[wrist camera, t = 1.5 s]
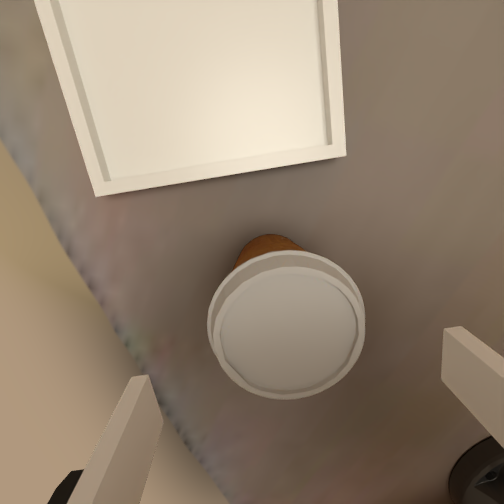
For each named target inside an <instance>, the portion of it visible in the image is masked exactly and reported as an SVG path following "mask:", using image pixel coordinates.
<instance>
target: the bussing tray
mask: <svg viewBox="0 0 504 504" xmlns="http://www.w3.org/2000/svg"><path fill="white" fill-rule="evenodd" d="M34 2H35V5H36V8H37V12H38V15H39V18H40V21H41V24H42V27H43V31H44V34H45V37H46V40H47V43H48V47H49V50H50V53H51V56H52V59H53V62H54V66H55V69H56V72H57V75H58V78H59V82H60V85H61V88H62V91H63V94H64V98H65V101H66V104H67V107H68V110H69V113H70V117H71V120H72V123H73V126H74V129H75V133H76V136H77V139H78V142H79V145H80V148H81V152H82V155H83V158H84V161H85V164H86V168H87V171H88V174H89V177H90V180H91V184H92V187H93V190H94V193H95V196H96V197H98V196H104V195H110V194H116V193H122V192H128V191H134V190H141V189H147V188H153V187H159V186H165V185H171V184H177V183H183V182H189V181H195V180H201V179H208V178H214V177H220V176H226V175H232V174H238V173H244V172H250V171H256V170H262V169H269V168H275V167H281V166H287V165H293V164H299V163H305V162H311V161H317V160H323V159H329V158H336V157H342V156H346V141H345V124H344V106H343V89H342V72H341V54H340V37H339V19H338V2H337V0H34Z"/></svg>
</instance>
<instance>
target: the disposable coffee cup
mask: <svg viewBox="0 0 504 504" xmlns="http://www.w3.org/2000/svg"><path fill="white" fill-rule="evenodd" d="M207 330H208V338H209V341H210V344H211V347H212V350H213V352H214V354H215V355H216V357H217V359H218V361H219V363H220V365H221V367H222V368H223V369H224V371H225V372H226V373H227V375H228V376H229V377H230V378H231V379H232V380H233V381H234V382H236V383H237V384H238V385H239V386H240V387H242V388H244V389H246V390H247V391H249V392H251V393H254V394H256V395H259V396H263V397H267V398H271V399H298V398H304V397H308V396H311V395H314V394H317V393H320V392H322V391H324V390H326V389H327V388H329V387H331V386H333V385H334V384H336V383H337V382H338V381H340V380H341V379H342V378H343V377H344V376H345V375H346V374H347V373H348V372H349V371H350V369H351V368H352V367H353V365H354V364H355V362H356V361H357V359H358V357H359V355H360V353H361V350H362V347H363V344H364V338H365V309H364V303H363V300H362V296H361V294H360V292H359V289H358V287H357V286H356V284H355V283H354V281H353V280H352V279H351V277H350V276H349V275H348V274H347V273H346V272H345V271H344V270H343V269H342V268H341V267H339V266H338V265H336V264H335V263H333V262H332V261H330V260H329V259H327V258H325V257H322V256H319V255H316V254H313V253H310V252H307V251H305V250H304V249H303V248H301V247H299V246H298V245H297V244H295V243H294V242H292V241H291V240H289V239H288V238H286V237H283V236H281V235H275V234H267V235H262V236H259V237H257V238H255V239H253V240H252V241H250V242H249V243H248V244H247V245H246V246H245V247H244V248H243V250H242V252H241V254H240V256H239V258H238V260H237V262H236V264H235V266H234V268H233V270H232V272H231V273H230V274H228V276H227V277H226V278H225V279H224V280H223V282H222V283H221V284H220V285H219V287H218V289H217V290H216V292H215V294H214V296H213V299H212V302H211V304H210V307H209V310H208V319H207Z"/></svg>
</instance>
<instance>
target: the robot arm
mask: <svg viewBox="0 0 504 504" xmlns="http://www.w3.org/2000/svg"><path fill="white" fill-rule="evenodd" d="M441 380H442V381H443V382H444V384H445V385H446V386H447V387H448V388H449V389H450V390H451V391H452V392H453V393H454V394H455V396H456V397H457V398H458V399H459V400H460V401H461V402H462V403H463V404H464V405H465V407H466V408H467V409H468V410H469V411H470V412H471V413H472V414H473V415H474V416H475V418H476V419H477V420H478V421H479V422H480V423H481V424H482V425H483V426H484V427H485V428H486V430H487V431H488V432H489V433H490V434H491V435H492V436H493V437H492V438H490V439H487V440H485V441H483V442H482V443H480V444H478V445H477V446H475V447H474V448H473V449H471V450H470V451H469V452H468V453H466V454H465V455H464V456H463V457H462V458H461V460H460V461H459V462H458V463H457V465H456V466H455V468H454V470H453V472H452V474H451V477H450V481H449V492H450V495H451V498H452V500H453V501H454V503H455V504H504V358H503V357H502V356H501V355H499V354H498V353H497V352H495V351H494V350H493V349H491V348H490V347H489V346H487V345H486V344H485V343H483V342H482V341H481V340H479V339H478V338H477V337H475V336H474V335H473V334H471V333H470V332H469V331H467V330H466V329H465V328H463V327H462V326H458V327H452V328H445V329H444V333H443V352H442V370H441ZM163 423H164V421H163V418H162V415H161V412H160V409H159V406H158V403H157V400H156V397H155V394H154V390H153V387H152V384H151V381H150V378H149V375H142V376H135V377H131V379H130V381H129V383H128V385H127V387H126V388H125V390H124V392H123V394H122V396H121V398H120V400H119V402H118V404H117V406H116V408H115V410H114V412H113V414H112V416H111V418H110V420H109V422H108V424H107V426H106V428H105V430H104V432H103V434H102V436H101V438H100V440H99V442H98V444H97V445H96V447H95V449H94V451H93V453H92V455H91V457H90V459H89V461H88V463H87V465H86V467H85V469H83V470H76V471H71V472H70V473H69V474H68V476H67V477H66V478H65V479H64V480H63V481H62V482H61V484H60V485H59V486H58V487H57V488H56V490H55V491H54V493H53V495H52V497H51V498H50V500H49V502H48V504H139V503H140V500H141V496H142V493H143V490H144V486H145V483H146V480H147V476H148V473H149V469H150V466H151V463H152V460H153V456H154V453H155V449H156V446H157V443H158V439H159V436H160V432H161V429H162V426H163Z"/></svg>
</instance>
